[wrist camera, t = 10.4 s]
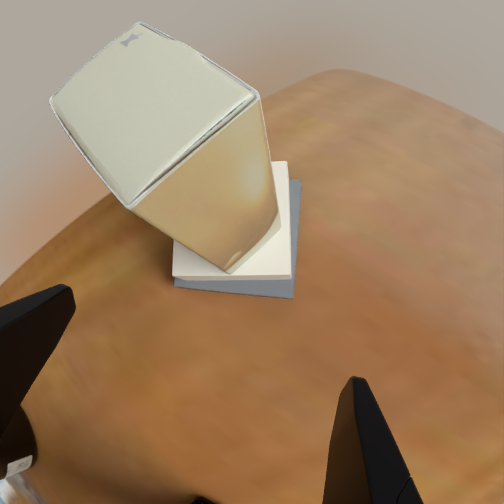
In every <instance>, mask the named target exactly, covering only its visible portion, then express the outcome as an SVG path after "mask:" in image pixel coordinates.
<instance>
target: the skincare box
mask: <svg viewBox="0 0 504 504" xmlns="http://www.w3.org/2000/svg"><path fill="white" fill-rule="evenodd" d="M49 104H50V106H51V107H52V110H53V112H54V114H55V115H56V117H57V119H58V120H59V122H60V124H61V126H62V128H63V129H64V130H65V132H66V133H67V135H68V136H69V138H70V139H71V140H72V142H73V144H74V145H75V146H76V147H77V149H78V150H79V152H80V153H81V155H82V156H83V157H84V158H85V160H86V161H87V162H88V164H89V165H90V166H91V168H92V169H93V170H94V171H95V173H96V174H97V175H98V176H99V177H100V179H101V180H102V181H103V182H104V183H105V185H106V186H107V187H108V188H109V190H110V191H111V192H112V193H113V194H114V195H115V196H116V198H117V199H118V200H119V201H120V202H121V203H122V205H123V206H124V207H125V208H126V209H127V210H129V211H130V212H132V213H133V214H135V215H136V216H138V217H140V218H141V219H143V220H144V221H146V222H147V223H149V224H150V225H152V226H153V227H155V228H157V229H158V230H160V231H161V232H163V233H164V234H166V235H167V236H169V237H170V238H172V239H174V240H175V241H177V242H178V243H180V244H181V245H183V246H185V247H186V248H188V249H189V250H191V251H193V252H194V253H196V254H197V255H199V256H200V257H202V258H203V259H205V260H207V261H208V262H210V263H212V264H213V265H215V266H216V267H218V268H219V269H221V270H222V271H224V272H225V273H227V274H229V275H231V274H232V273H233V272H235V271H236V270H237V269H238V268H239V267H240V266H241V265H243V264H244V263H245V262H246V261H247V260H248V259H249V258H250V257H251V256H253V255H254V254H255V253H256V252H257V251H258V250H259V249H260V248H261V247H262V246H263V245H264V244H265V243H266V242H267V241H269V240H270V239H271V238H272V237H273V236H274V235H275V234H276V233H277V232H278V231H279V230H280V228H281V219H280V212H279V206H278V200H277V193H276V187H275V181H274V175H273V168H272V163H271V157H270V152H269V146H268V140H267V134H266V128H265V123H264V117H263V111H262V105H261V100H260V95H259V93H258V92H257V91H256V90H255V89H254V88H252V87H251V86H249V85H248V84H246V83H245V82H243V81H242V80H240V79H239V78H238V77H236V76H234V75H233V74H232V73H230V72H228V71H227V70H225V69H224V68H222V67H221V66H219V65H217V64H216V63H214V62H213V61H211V60H209V59H208V58H207V57H205V56H204V55H202V54H201V53H199V52H197V51H196V50H194V49H193V48H191V47H190V46H188V45H186V44H183V43H182V42H180V41H177V40H175V39H173V38H172V37H170V36H168V35H167V34H164V33H163V32H161V31H159V30H157V29H155V28H153V27H151V26H149V25H147V24H145V23H144V22H138V23H136V24H135V25H133V26H132V27H130V28H129V29H128V30H127V31H126V32H124V33H123V34H121V35H120V36H119V37H117V38H116V39H115V40H113V42H111V43H110V44H108V45H107V46H106V47H105V48H103V49H102V50H101V51H100V52H99V53H97V54H96V55H95V56H94V57H93V58H91V59H90V60H89V61H88V62H87V63H86V64H85V65H84V66H83V67H81V68H80V69H79V70H78V71H77V72H76V73H75V74H74V75H72V76H71V78H69V79H68V80H67V81H66V82H65V83H64V84H63V86H62V87H60V89H59V90H58V91H57V92H56V93H55V94H54V95H53V96H52V97H51V98H50V99H49Z"/></svg>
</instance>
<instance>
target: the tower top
mask: <svg viewBox="0 0 504 504" xmlns="http://www.w3.org/2000/svg"><path fill="white" fill-rule="evenodd" d="M271 163H272V168H273V175H274V181H275V187H276V193H277V200H278V206H279V212H280V219H281V228H280V230H279V231H278V232H277V233H276V234H275V235H274V236H273V237H272V238H271V239H270V240H269V241H267V242H266V243H265V244H264V245H263V246H262V247H261V248H260V249H259V250H258V251H257V252H256V253H255V254H254V255H253V256H251V257H250V258H249V259H248V260H247V261H246V262H245V263H244V264H243V265H241V266H240V267H239V268H238V269H237V270H236V271H235V272H233V273H232V274H231V275H229V274H227V273H225V272H224V271H222V270H221V269H219V268H218V267H216V266H215V265H213V264H212V263H210V262H208V261H207V260H205V259H203V258H202V257H200V256H199V255H197V254H196V253H194V252H193V251H191V250H189V249H188V248H186V247H185V246H183V245H181V244H180V243H178V242H177V241H175V240H174V246H173V268H172V276H174V277H177V278H180V279H183V280H186V281H206V280H286V279H291V235H290V202H289V177H288V168H287V161H278V162H271Z"/></svg>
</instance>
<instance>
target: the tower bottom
mask: <svg viewBox="0 0 504 504" xmlns="http://www.w3.org/2000/svg"><path fill="white" fill-rule="evenodd" d="M301 188H302V187H301V180H294V179H289V202H290V235H291V279H286V280H206V281H186V280H183V279H180V278H177V277H175V281H174V286H175V287H179V288H186V289H194V290H203V291H212V292H222V293H232V294H242V295H252V296H263V297H274V298H285V299H293V295H294V284H295V272H296V260H297V247H298V234H299V220H300V205H301Z"/></svg>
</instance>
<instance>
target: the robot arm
mask: <svg viewBox="0 0 504 504" xmlns="http://www.w3.org/2000/svg"><path fill="white" fill-rule="evenodd" d="M75 309H76V304H75V300H74V296H73V291H72V289H71V288H70V287H69V286H66V285H64V284H58V285H56V286H53V287H50V288H48V289H45V290H43V291H40V292H37V293H35V294H32V295H30V296H27V297H25V298H22V299H20V300H17V301H15V302H12V303H10V304H7V305H5V306H2V307H0V440H1V438H2V437H3V434H4V433H5V431H6V429H7V427H8V425H9V423H10V422H11V420H12V418H13V416H14V414H15V413H16V411H17V409H18V407H19V406H20V404H21V402H22V400H23V399H24V397H25V395H26V394H27V392H28V390H29V389H30V387H31V385H32V384H33V382H34V380H35V379H36V377H37V376H38V374H39V372H40V371H41V369H42V368H43V366H44V365H45V363H46V361H47V360H48V358H49V357H50V355H51V354H52V352H53V351H54V349H55V347H56V346H57V344H58V342H59V340H60V338H61V336H62V335H63V333H64V331H65V329H66V327H67V325H68V323H69V322H70V320H71V318H72V316H73V314H74V312H75ZM199 501H200V502H202V503H203V504H214V503H212V502H210V501H209V500H207V499H205V498H203V497H197V498H196V499H195V500H194V501H193V503H192V504H201V503H199ZM322 504H424V503H423V501H422V499H421V497H420V495H419V493H418V490H417V488H416V486H415V484H414V482H413V479H412V477H410V473H409V470H408V468H407V466H406V464H405V462H404V459H403V457H402V455H401V453H400V450H399V448H398V446H397V444H396V442H395V440H394V437H393V435H392V433H391V431H390V429H389V427H388V425H387V422H386V420H385V418H384V416H383V414H382V412H381V410H380V408H379V406H378V403H377V401H376V399H375V397H374V395H373V393H372V391H371V389H370V387H369V385H368V383H367V381H366V380H365V379H364V378H361V377H356V376H352V377H351V378H350V379H349V380H348V382H347V384H346V385H345V387H344V388H343V390H342V391H341V393H340V396H339V401H338V406H337V411H336V416H335V421H334V426H333V430H332V435H331V440H330V445H329V454H328V463H327V472H326V480H325V488H324V495H323V503H322Z"/></svg>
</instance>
